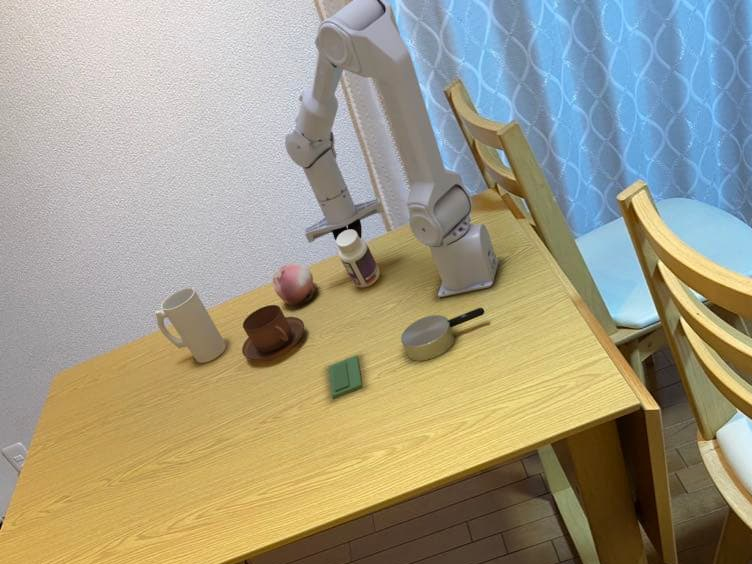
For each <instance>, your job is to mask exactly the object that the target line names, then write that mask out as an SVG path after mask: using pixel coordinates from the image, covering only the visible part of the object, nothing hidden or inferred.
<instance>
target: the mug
mask: <svg viewBox="0 0 752 564" xmlns="http://www.w3.org/2000/svg"><path fill="white" fill-rule="evenodd" d="M195 289H196V288H194V287H190V286H189V287H184V288H181V289H178V290H176V291H174V292H172V293H170V294H169V295H168V296H167V297H166V298H165V299H163V301H162V302H161V305H160V308H161V309H157V310H155V312H154V315H155V318H156V321H157V322H156V323H157V326H158V328H159V330H160V332H161V333H162V335H163V336H164V337H165V338H166V339H167V340H168V341H169V342H171V343H172V344H173V345H174V346H176V347H177V348H178V349H182V348H187V349H188V350H189V351H190V353H191V354H192V356H193V358H195V360H196V361H197V362H198V363H200V364H201V363H202V364H205V363H208V362H211V361H213V360H215V359H217V358H219V357H220V356H221V355H222V354H223V353H224V352H225V350H226V348H227V344H226V342H225V340H224V339H223V337H222V334H221V333H220V331H219V329H218V328H217V326H216V324H215V322H214V320H213V318H212V316H211V315H210V314H209V312H208V310H207V308H206V307H205V305H204V303H203V301H202V300H201V297H200V296H199V294H198V293H197V291H196V290H195ZM166 318H167V319H168V320H169V322H170V323H171V325H172V326H173V329H175V331H176V332H177V334H178V335H179V337H180V338H179V337H177V336H174V335H173V334H172V333H171V332H170V331H169V330H168V329H167V328H166V325H165V322H164V319H166Z"/></svg>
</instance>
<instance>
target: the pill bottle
mask: <svg viewBox="0 0 752 564" xmlns="http://www.w3.org/2000/svg"><path fill="white" fill-rule="evenodd" d="M335 242H336V245H337V247H338V258H339V260H340V261H341V263H342V265H343V267H344V269H345V270H346V273H347V275H348V276H349V278H350V280H351V282H352V283H353V285H354V286H355V287H357V288H368V287H370V286H371V285H373V284H374V283H376V282H377V280H379V277H380V273H381V272H380V267H379V266H378V264H377V262H376V259H375V257H374V256H373V254H372V252H371V250H370V247H369V246H368V243H367V242H366V240H365V239H364V238H363V237H361V238H359V236H358V234H357V232H356V231H355V230H352V229H349V230H345V231H343V232H342V233H340V234H339V235H338V237H337V239H336V240H335Z"/></svg>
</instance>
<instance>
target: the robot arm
mask: <svg viewBox="0 0 752 564" xmlns="http://www.w3.org/2000/svg"><path fill="white" fill-rule="evenodd" d="M395 17H396V16H395V14H394V11H393V7H392V4H390V3H389V2H388V1H386V0H352V1H350V2H349V3H347V4H346V5H344V7H342V8H341V9H340V10H338V11H337V12H335V13H334V14H332V15H331V16H330V17H329V18H326V19H324V20H323V21H321V22H320V24H319V25H318V28H317V35H316V37H315V39H314V45H315V47H316V49H317V55H316V63H315V70H314V76H313V81H312V86H310V87H308V88H307V89H306V90H304V91H302V92H301V93H300V94H299V99H298V101H299V102H300V107H299V110H298V115H296V117H295V120H294V122H295V128H294V129H293V131H289V132H288V133H287V134H286V135H285V136H284V141H285V142H284V145H285V149H286V152H287V154H288V156H289V157H290V159H291V160H292V161H293V162H294V163H295V164H296V165H298V166H299V167H301V168H302V170H303V172H304V174H305V177H306V179H307V181H308V183H309V186H310V188H311V190H312V192H313V195H314V197H315V200H316V201H317V204H318V206H319V207H320V210H321V212H322V214H323V217H324V218H323V219H321V220H319V221H318V222H316V223H314V224H313V225H311V226H308V227H306V228H305V229H304V235H305V237H306V239H307V241H308V243H309V244H311V243H313V242H315V240H316V239H318V238H321V237H324V236H326V235H328V234H330V233H332V235H333V239H334V240H335V241H336V239H337V237H338V235H339V234H340V233H342V232H343V231H345V230H349V229H352V230H355V231H356V232H357V234H358V236H359V238H362V232H363V230H362V229H363V227H362V223H361V221H362V220H364V219H366V218H368V217H371V216H373V215H376V214H378V215H380V214H383V213H384V212H385V211H384V210H385V209H384V206H383V204H382V202H381V199H380V198H379V197H376V198H375V199H372V200H369V201H364V202H360V203H357V204H355V202H354V200H353V198H352V196H351V193H350V191H349V190H350V189H349V188H348V186H347V184H346V181H345V179H344V176H343V174H342V172H341V168H340V167H339V164H338V162H337V156H338V154H337V152H336V150H335V142H336V141H335V140H336V139H335V135H334V133H333V131H332V130H333V126H334V123H335V119H336V116H337V114H338V109H339V101H338V98H337V96H336V95H335V94H336V91H337V90H338V89H337V88H338V86H339V83H340V81H341V78H342V75H343V72H344V71H347V72H349V73H351V74H355V75H357V76H360V77H362V78H367V79H368V78H372V79H373V80H375V81H376V82H377V84H378V87H379V90H380V92H381V95H382V98H383V102H384V105H385V107H386V111H387V113H388V116H389V119H390V123H391V125H392V128H393V131H394V132H393V133H394V135H395V137H396V140H397V144H398V147H399V150H400V153H401V156H402V158H403V161H404V164H405V167H406V171H407V173H408V176H409V180H410V183H411V185H410V190H409V192H408V196H407V201H406V206H407V209H408V212H409V218H408V224H409V227H410V229H411V232H412V234H413V236H414V237H415V238H416V239H417V241H419V242H420V243H422V244H423V245H424V246H427V247H429V250H430V254H431V255H432V258H433V260H434V263H435V266H436V269H437V271H438V274H439V277H440V280H441V284H440V287H439V290H438V293H437V296H438V298H443V297H449V296H453V295H459V294H464V293H468V292H474V291H478V290H483V289H488V288H491V287H492V286H493V284H494V281H495V277H496V273H497V270H498V266H499V263H500V260H499V259H498V258H497V255H496V252H495V249H494V246H493V243H492V240H491V237H490V236H491V235H490V233H489V230H488V229H487V226H486V225H485V224H472V223H471V221H472V219H471V216H470V214H471V213H472V211H473V205H474V203H473V199H472V196H471V194H470V192H469V189H467V188H466V186H465V184H464V183H463V180H462V176H461V174H460V173H458V172H456V171H454V170H450V169H446V168H445V165H444V162H443V158H442V155H441V152H440V149H439V146H438V143H437V139H436V135H435V131H434V129H433V126H432V122H431V119H430V116H429V111H428V109H427V105H426V101H425V99H424V95H423V92H422V89H421V85H420V82H419V78H418V75H417V72H416V69H415V65H414V62H413V59H412V56H411V53H410V50H409V49H408V47H407V45H406V44H405V42H404V40H403V37H402V36H401V34H400V30H399V26H398V24H397V23H398V22H397V20H396V18H395Z"/></svg>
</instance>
